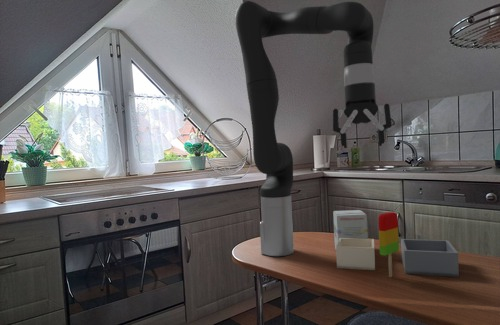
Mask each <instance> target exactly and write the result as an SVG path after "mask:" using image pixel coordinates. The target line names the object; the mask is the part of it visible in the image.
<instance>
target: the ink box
mask: <svg viewBox="0 0 500 325" xmlns="http://www.w3.org/2000/svg"><path fill="white" fill-rule="evenodd" d="M332 214H333V234H334V237H333V238H334V249H335V250H336V245H337V243H338V240H339V238H357V239H369V228H368V215H367V214H366V213H365V212H364V211H362V210H360V209H354V210H353V209H352V210H351V209H349V210H348V209H347V210H333V212H332Z"/></svg>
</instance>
